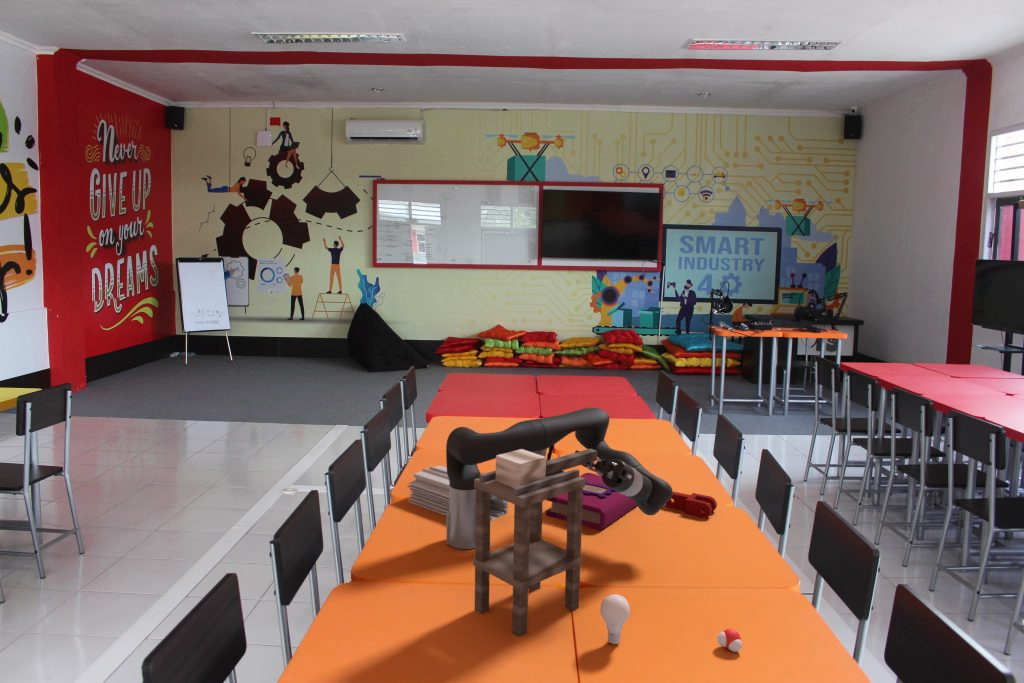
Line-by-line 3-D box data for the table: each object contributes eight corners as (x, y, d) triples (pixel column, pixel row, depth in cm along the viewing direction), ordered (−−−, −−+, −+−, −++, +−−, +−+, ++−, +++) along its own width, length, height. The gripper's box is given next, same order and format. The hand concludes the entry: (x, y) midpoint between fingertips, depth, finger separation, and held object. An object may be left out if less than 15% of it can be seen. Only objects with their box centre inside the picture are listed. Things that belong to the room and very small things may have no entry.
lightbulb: (596, 635, 166) (598, 589, 164) (624, 635, 167) (626, 588, 165) (602, 651, 160) (604, 603, 158) (631, 650, 160) (633, 602, 159)
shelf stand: (519, 637, 165) (522, 491, 160) (472, 609, 176) (474, 473, 171) (580, 607, 178) (585, 472, 173) (533, 583, 190) (536, 456, 185)
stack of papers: (477, 527, 225) (477, 496, 224) (408, 502, 245) (407, 473, 243) (507, 514, 236) (508, 484, 235) (439, 491, 255) (439, 463, 254)
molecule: (736, 642, 164) (737, 624, 164) (744, 655, 160) (745, 636, 159) (714, 643, 164) (715, 624, 164) (720, 655, 159) (722, 637, 159)
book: (642, 505, 246) (643, 482, 245) (603, 532, 224) (604, 508, 222) (586, 491, 258) (586, 470, 257) (543, 516, 235) (543, 493, 234)
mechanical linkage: (716, 512, 240) (717, 497, 240) (709, 519, 234) (710, 504, 234) (668, 502, 249) (669, 488, 248) (661, 509, 243) (661, 494, 242)
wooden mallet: (519, 490, 165) (520, 464, 164) (495, 480, 171) (496, 455, 170) (605, 464, 184) (606, 440, 183) (581, 456, 190) (582, 433, 189)
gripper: (639, 499, 190) (604, 479, 179) (596, 484, 200) (561, 465, 189) (649, 471, 191) (616, 450, 180) (606, 458, 201) (572, 437, 191)
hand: (588, 458), depth 185 cm, fingers open, 8 cm apart
